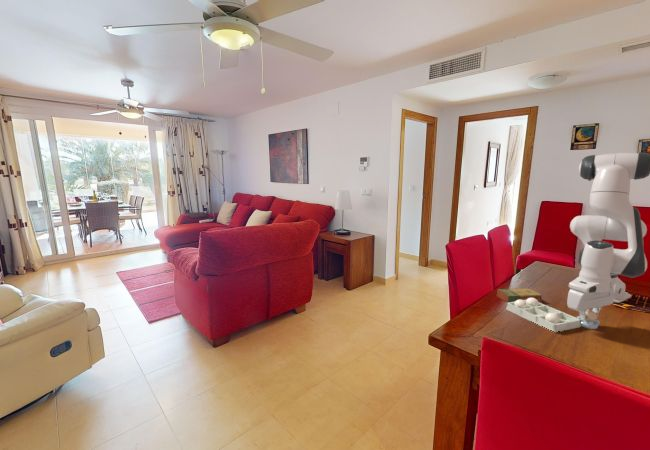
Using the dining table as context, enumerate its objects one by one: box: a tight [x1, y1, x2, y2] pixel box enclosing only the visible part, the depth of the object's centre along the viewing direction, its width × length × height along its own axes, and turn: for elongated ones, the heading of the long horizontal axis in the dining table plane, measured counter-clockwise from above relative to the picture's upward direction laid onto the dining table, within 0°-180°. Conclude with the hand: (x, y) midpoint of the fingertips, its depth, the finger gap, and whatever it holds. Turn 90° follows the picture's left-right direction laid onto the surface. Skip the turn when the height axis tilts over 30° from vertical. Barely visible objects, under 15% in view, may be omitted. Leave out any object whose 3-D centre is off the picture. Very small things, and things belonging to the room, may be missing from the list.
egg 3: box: [545, 313, 560, 324], centre depth 111 cm, size 5×5×5 cm
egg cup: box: [576, 315, 600, 330], centre depth 113 cm, size 6×6×3 cm
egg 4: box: [584, 309, 598, 322], centre depth 112 cm, size 5×5×5 cm
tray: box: [505, 300, 582, 333], centre depth 119 cm, size 14×20×3 cm
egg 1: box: [514, 299, 527, 309], centre depth 124 cm, size 5×5×5 cm
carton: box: [496, 287, 543, 304], centre depth 137 cm, size 8×16×4 cm, turn 92°
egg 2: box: [526, 298, 540, 307], centre depth 126 cm, size 5×5×5 cm
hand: (588, 317), depth 112 cm, fingers closed on egg 4, 5 cm apart
